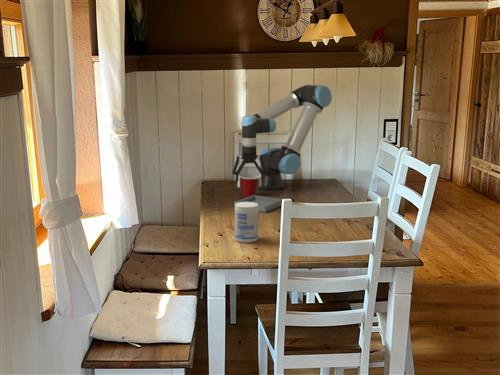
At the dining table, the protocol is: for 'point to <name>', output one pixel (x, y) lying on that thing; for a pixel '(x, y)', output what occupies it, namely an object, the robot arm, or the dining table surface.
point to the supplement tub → (246, 221)
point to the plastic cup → (248, 184)
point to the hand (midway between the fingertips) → (249, 186)
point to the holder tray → (263, 202)
